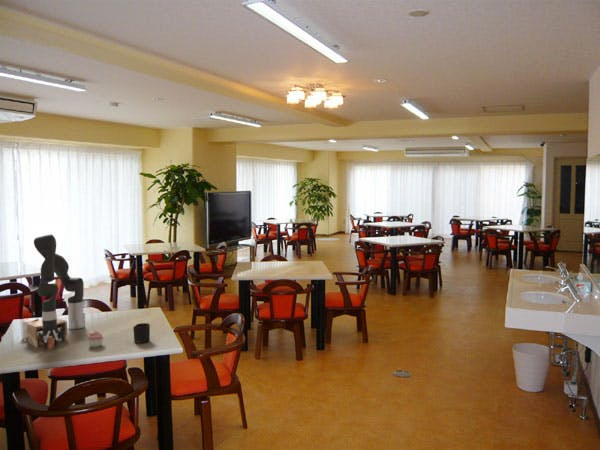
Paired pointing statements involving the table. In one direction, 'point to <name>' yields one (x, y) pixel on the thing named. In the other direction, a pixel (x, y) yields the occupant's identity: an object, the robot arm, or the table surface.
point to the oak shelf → (37, 327)
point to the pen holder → (141, 333)
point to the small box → (26, 326)
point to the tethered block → (48, 342)
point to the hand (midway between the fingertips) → (50, 347)
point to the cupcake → (95, 339)
